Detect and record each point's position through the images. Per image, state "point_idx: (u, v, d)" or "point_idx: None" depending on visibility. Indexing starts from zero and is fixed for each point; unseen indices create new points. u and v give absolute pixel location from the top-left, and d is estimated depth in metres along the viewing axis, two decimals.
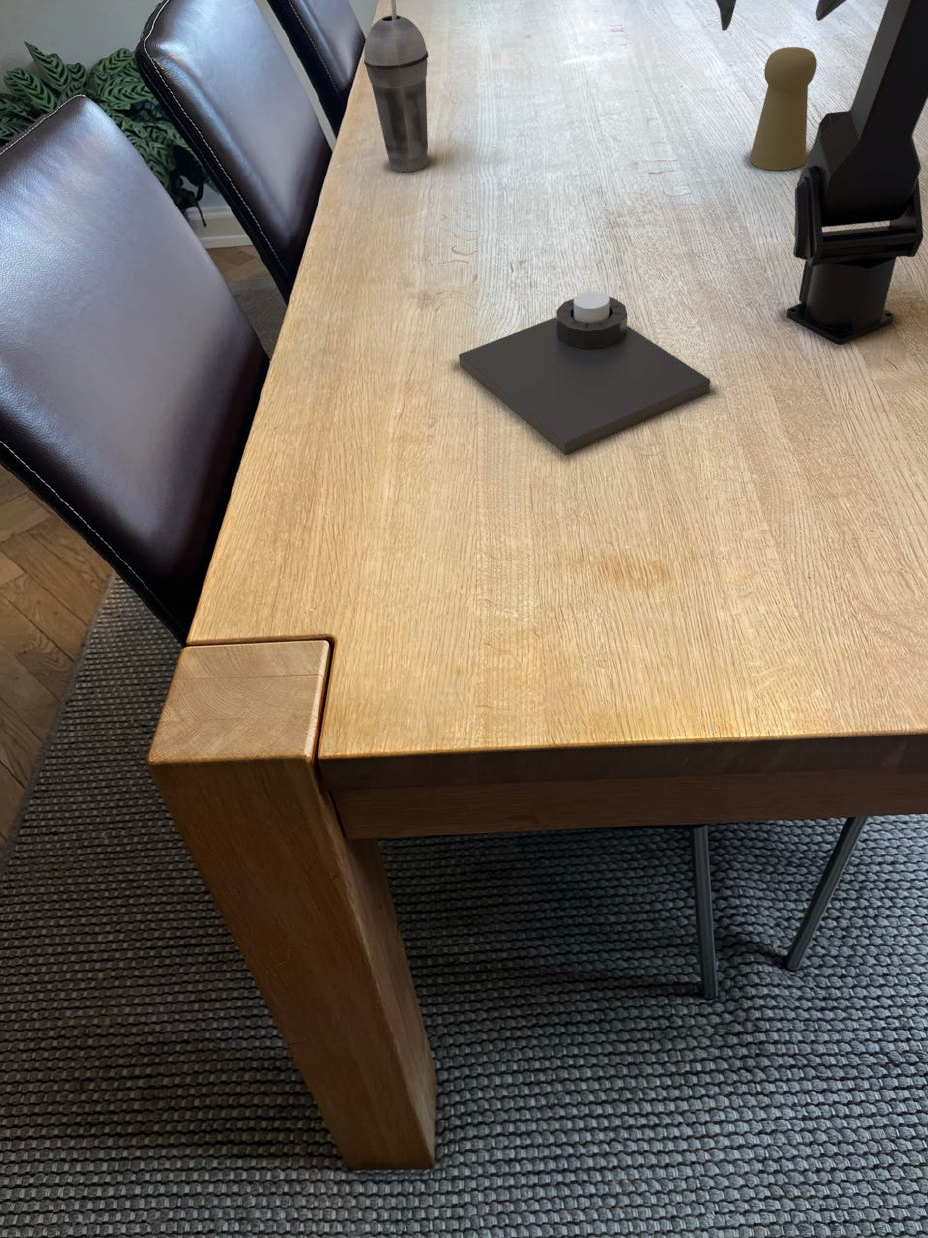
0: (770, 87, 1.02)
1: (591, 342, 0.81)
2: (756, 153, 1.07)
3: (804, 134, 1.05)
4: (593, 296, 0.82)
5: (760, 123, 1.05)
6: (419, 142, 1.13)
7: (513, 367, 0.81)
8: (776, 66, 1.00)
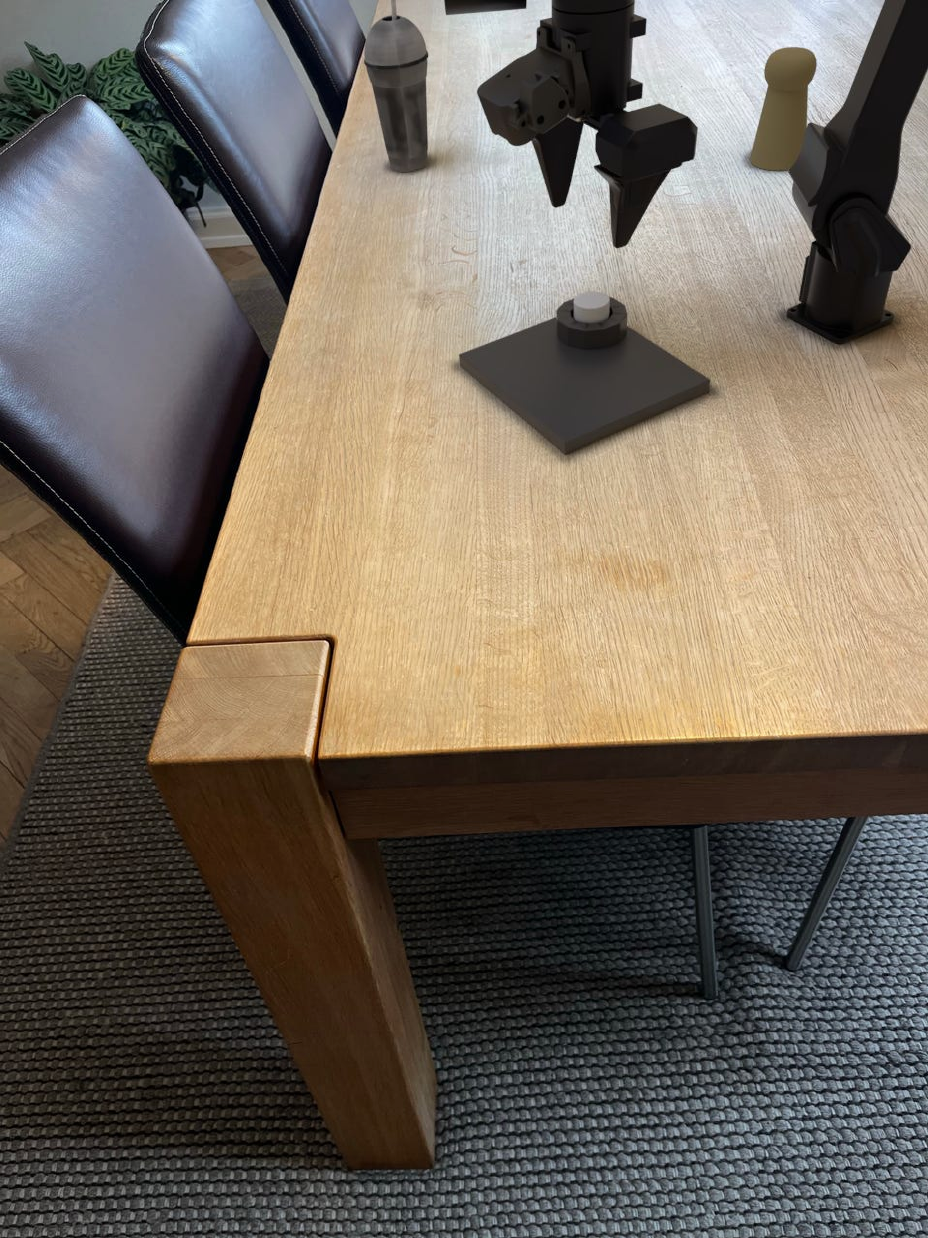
0: (770, 87, 1.02)
1: (591, 342, 0.81)
2: (756, 153, 1.07)
3: None
4: (593, 296, 0.82)
5: (760, 123, 1.05)
6: (419, 142, 1.13)
7: (513, 367, 0.81)
8: (776, 66, 1.00)
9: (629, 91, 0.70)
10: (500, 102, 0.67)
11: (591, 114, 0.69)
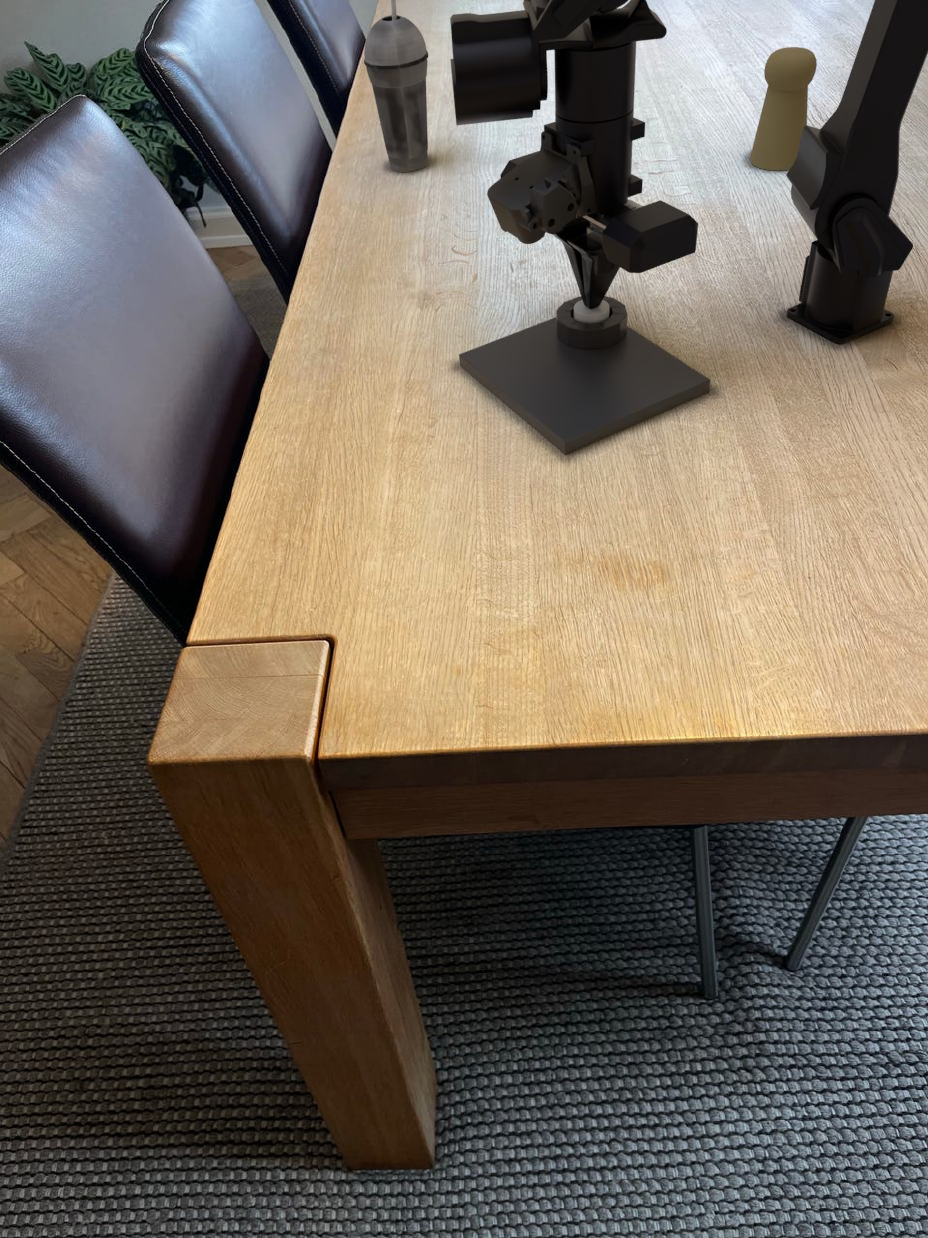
0: (770, 87, 1.02)
1: (591, 342, 0.81)
2: (756, 153, 1.07)
3: None
4: None
5: (760, 123, 1.05)
6: (419, 142, 1.13)
7: (513, 367, 0.81)
8: (776, 66, 1.00)
9: (630, 187, 0.74)
10: (512, 206, 0.71)
11: (596, 211, 0.73)
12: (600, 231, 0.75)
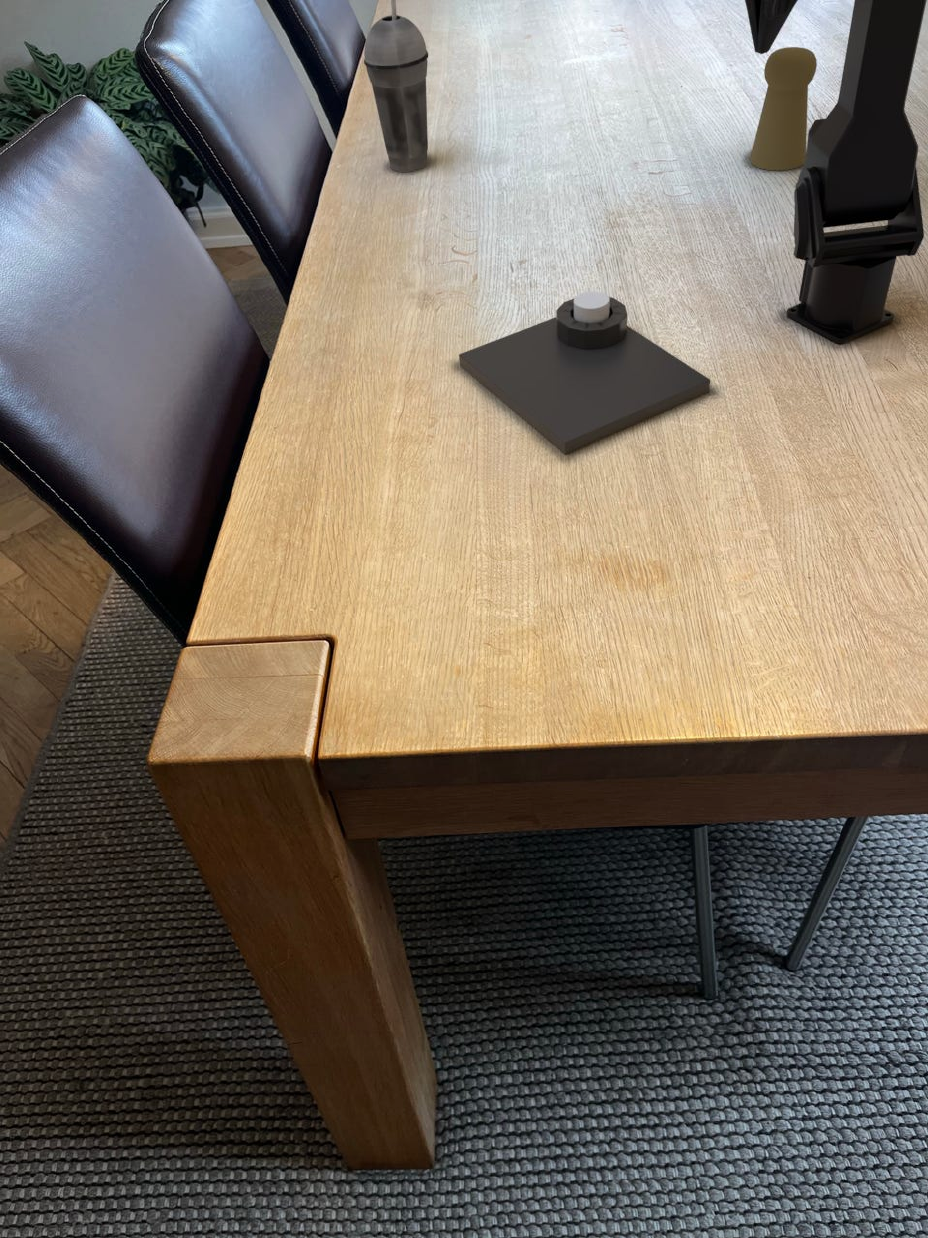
0: (770, 87, 1.02)
1: (591, 342, 0.81)
2: (756, 153, 1.07)
3: (804, 134, 1.05)
4: (593, 296, 0.82)
5: (760, 123, 1.05)
6: (419, 142, 1.13)
7: (513, 367, 0.81)
8: (776, 66, 1.00)
9: None
10: None
11: None
12: None
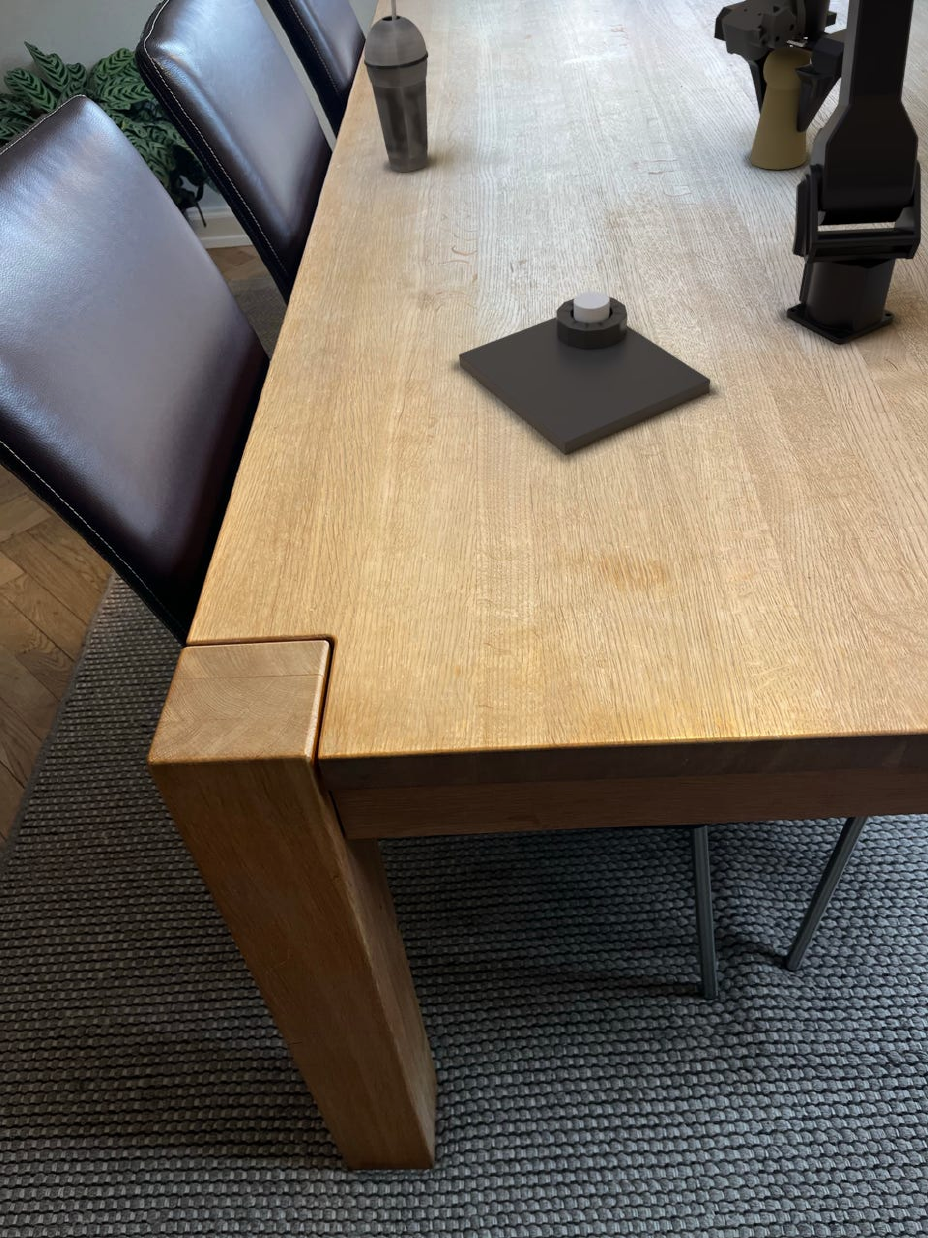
0: (770, 86, 1.02)
1: (591, 342, 0.81)
2: (756, 153, 1.07)
3: (804, 133, 1.05)
4: (593, 296, 0.82)
5: (760, 122, 1.05)
6: (419, 142, 1.13)
7: (513, 367, 0.81)
8: (775, 65, 1.00)
9: (828, 18, 0.97)
10: (745, 28, 0.94)
11: (802, 36, 0.97)
12: None
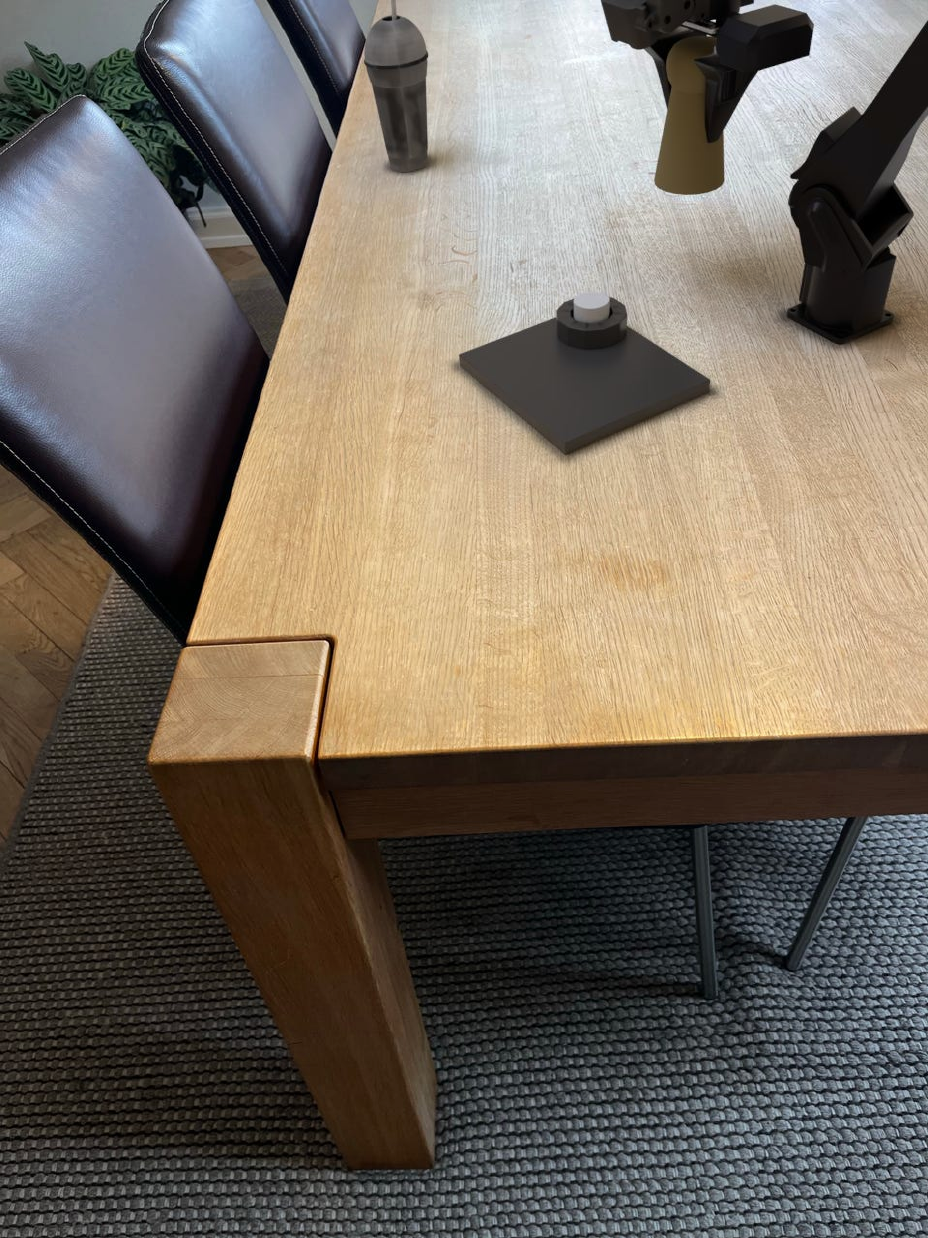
0: (674, 87, 0.79)
1: (591, 342, 0.81)
2: (660, 173, 0.84)
3: (719, 149, 0.81)
4: (593, 296, 0.82)
5: (664, 134, 0.82)
6: (419, 142, 1.13)
7: (513, 367, 0.81)
8: (678, 61, 0.77)
9: None
10: (627, 5, 0.71)
11: (708, 18, 0.73)
12: None
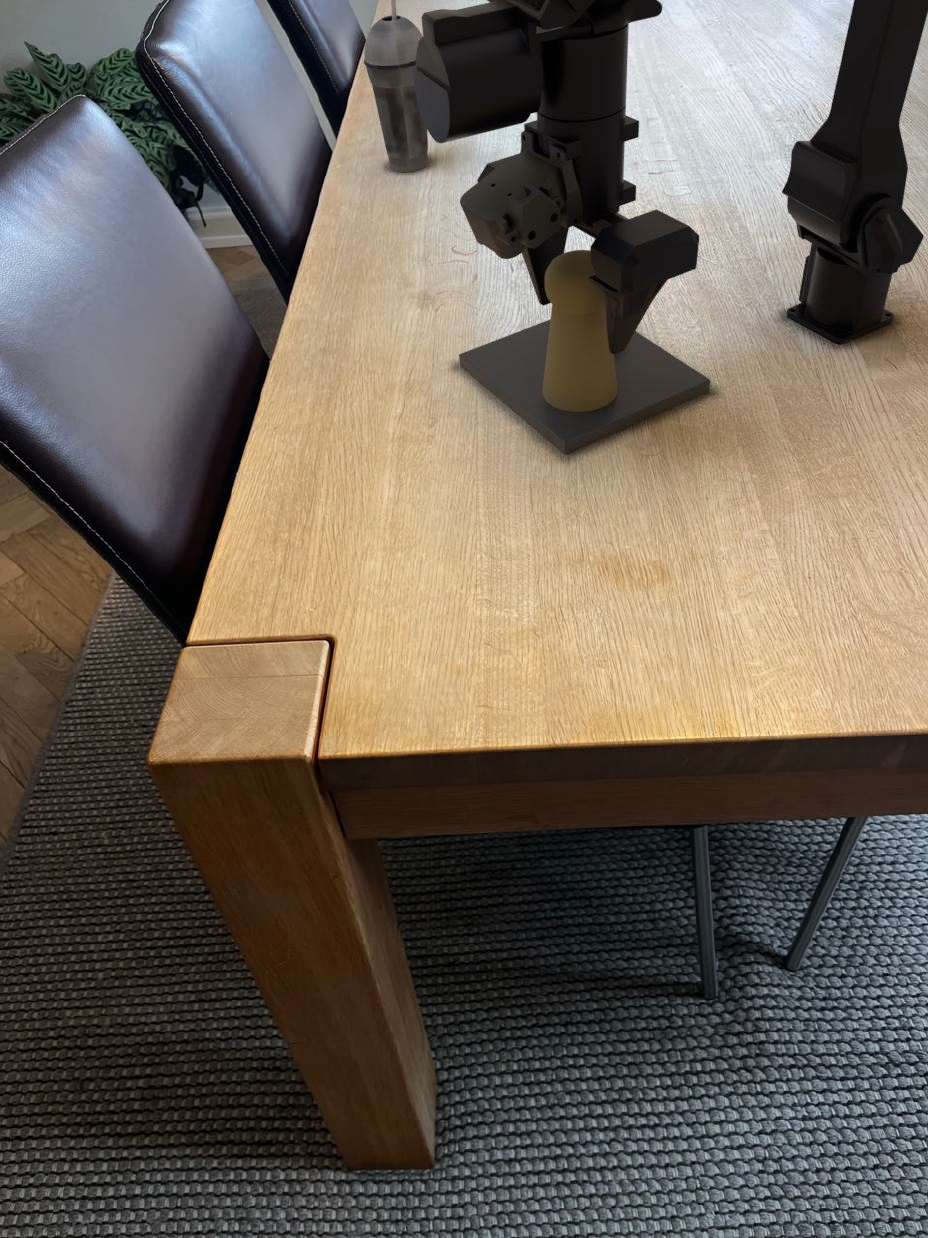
0: (554, 306, 0.72)
1: None
2: (546, 386, 0.76)
3: (609, 365, 0.74)
4: None
5: (548, 348, 0.75)
6: (419, 142, 1.13)
7: (513, 367, 0.81)
8: (555, 283, 0.69)
9: (622, 195, 0.65)
10: (487, 216, 0.62)
11: (583, 221, 0.65)
12: None
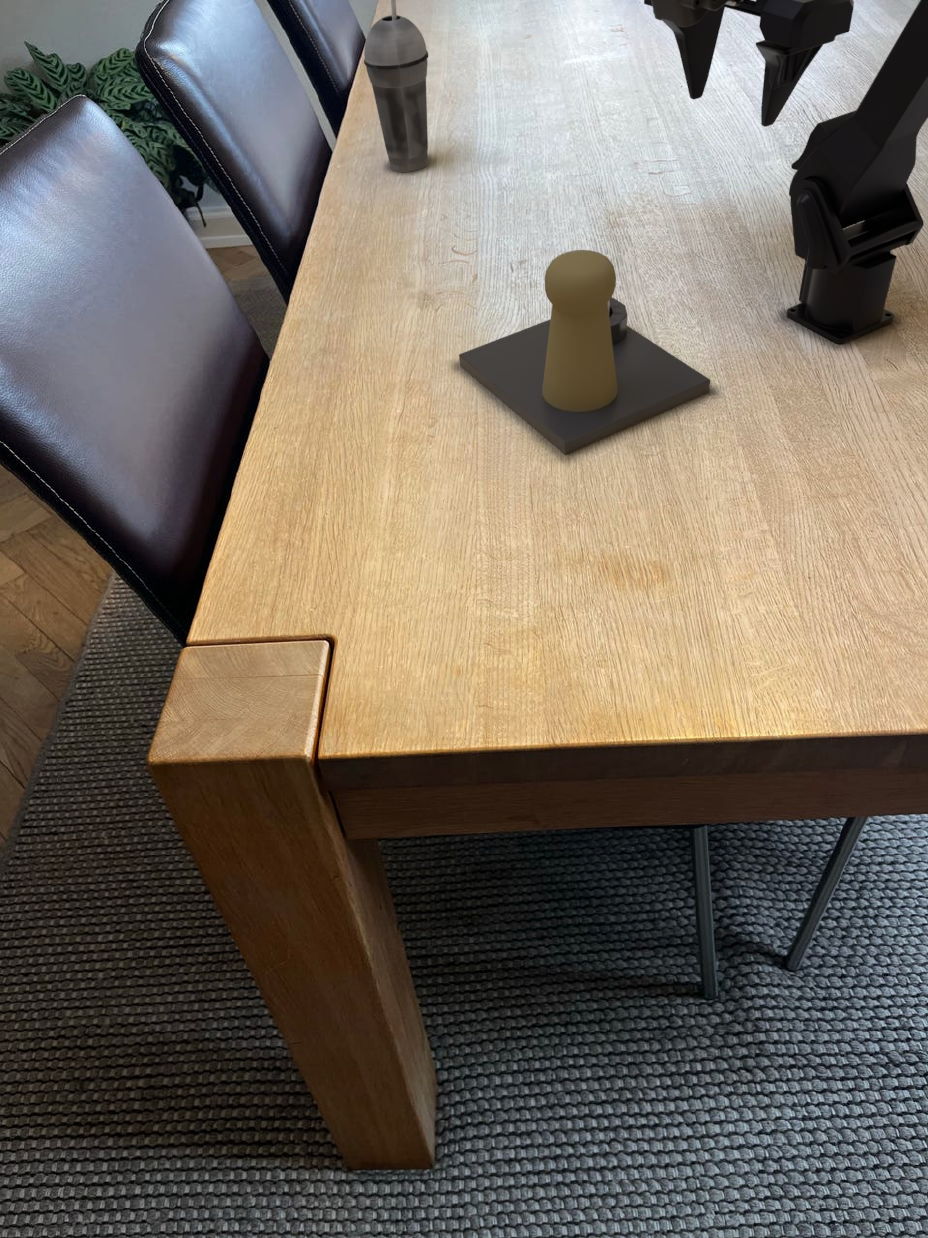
0: (554, 306, 0.72)
1: None
2: (546, 386, 0.76)
3: (609, 365, 0.74)
4: None
5: (548, 348, 0.75)
6: (419, 142, 1.13)
7: (513, 367, 0.81)
8: (555, 283, 0.69)
9: None
10: None
11: None
12: None
